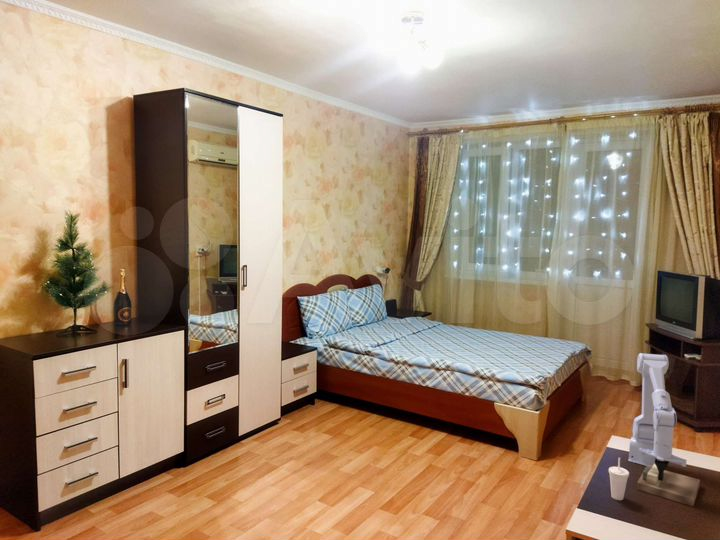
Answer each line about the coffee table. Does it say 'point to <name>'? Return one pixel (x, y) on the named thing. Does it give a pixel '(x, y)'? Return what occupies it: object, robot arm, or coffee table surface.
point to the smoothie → (618, 481)
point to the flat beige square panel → (671, 486)
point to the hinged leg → (653, 475)
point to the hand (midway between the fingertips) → (660, 479)
